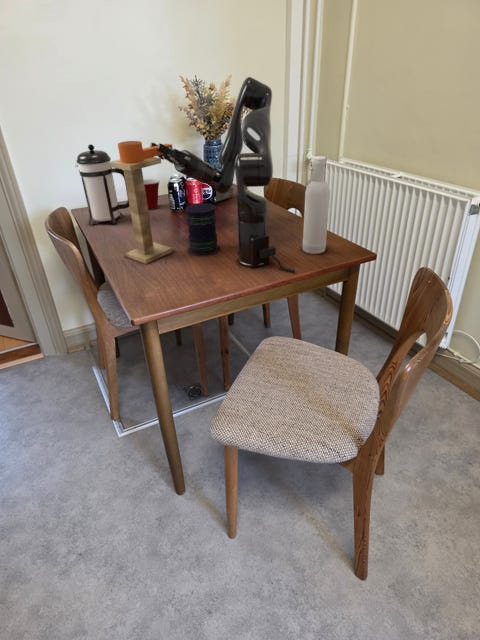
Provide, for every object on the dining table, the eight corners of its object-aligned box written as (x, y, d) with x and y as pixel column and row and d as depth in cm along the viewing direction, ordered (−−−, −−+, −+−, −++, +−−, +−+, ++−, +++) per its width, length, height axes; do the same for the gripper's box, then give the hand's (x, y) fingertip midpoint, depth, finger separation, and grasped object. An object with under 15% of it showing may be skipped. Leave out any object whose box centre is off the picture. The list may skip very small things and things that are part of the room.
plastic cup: (165, 203, 194) (162, 177, 188) (159, 211, 185) (156, 183, 179) (143, 204, 195) (139, 177, 189) (136, 211, 186) (131, 183, 180)
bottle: (318, 243, 148) (324, 153, 132) (330, 251, 142) (338, 158, 126) (298, 247, 146) (302, 156, 130) (309, 255, 139) (314, 161, 123)
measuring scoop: (162, 150, 140) (160, 134, 137) (177, 152, 136) (175, 135, 133) (115, 161, 127) (112, 143, 125) (130, 164, 123) (127, 145, 121)
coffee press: (97, 230, 167) (80, 150, 151) (82, 220, 178) (64, 144, 162) (136, 219, 176) (124, 143, 160) (119, 211, 187) (106, 138, 171)
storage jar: (192, 257, 141) (188, 213, 134) (187, 246, 150) (182, 205, 142) (221, 253, 144) (218, 210, 136) (214, 242, 152) (211, 201, 144)
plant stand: (153, 245, 151) (139, 154, 135) (172, 251, 146) (160, 158, 129) (126, 256, 144) (108, 161, 127) (146, 263, 138) (129, 165, 122)
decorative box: (241, 199, 197) (240, 178, 191) (208, 209, 185) (207, 187, 180) (222, 194, 205) (221, 173, 200) (190, 203, 193) (188, 182, 188)
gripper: (179, 152, 150) (143, 132, 136) (208, 156, 142) (173, 135, 128) (173, 173, 151) (137, 155, 137) (202, 178, 143) (167, 160, 129)
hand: (155, 146), depth 132 cm, fingers closed on measuring scoop, 3 cm apart
